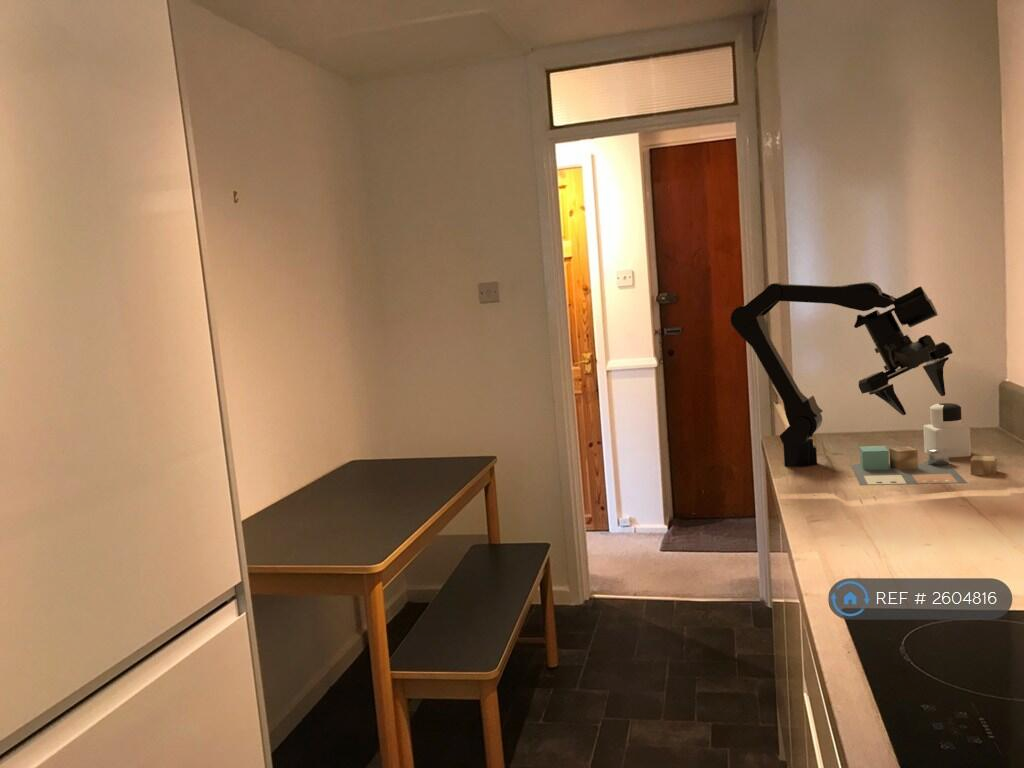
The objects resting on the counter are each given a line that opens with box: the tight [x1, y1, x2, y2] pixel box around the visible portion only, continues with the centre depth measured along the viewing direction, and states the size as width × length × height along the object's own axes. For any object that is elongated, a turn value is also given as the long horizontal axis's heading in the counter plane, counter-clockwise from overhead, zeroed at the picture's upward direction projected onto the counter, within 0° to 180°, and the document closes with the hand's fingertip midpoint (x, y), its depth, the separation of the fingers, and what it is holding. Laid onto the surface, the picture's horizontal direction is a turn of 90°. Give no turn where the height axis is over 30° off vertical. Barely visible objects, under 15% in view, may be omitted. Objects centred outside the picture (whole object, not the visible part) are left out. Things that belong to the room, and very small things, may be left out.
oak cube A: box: [888, 445, 919, 471], centre depth 174 cm, size 4×4×4 cm
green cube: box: [859, 445, 890, 470], centre depth 177 cm, size 5×5×4 cm
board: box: [850, 461, 968, 486], centre depth 170 cm, size 19×18×1 cm
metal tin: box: [926, 448, 950, 466], centre depth 175 cm, size 4×4×3 cm
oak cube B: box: [970, 455, 998, 477], centre depth 165 cm, size 4×4×4 cm
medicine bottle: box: [922, 402, 972, 459], centre depth 183 cm, size 7×7×12 cm
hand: (924, 405), depth 172 cm, fingers open, 9 cm apart
